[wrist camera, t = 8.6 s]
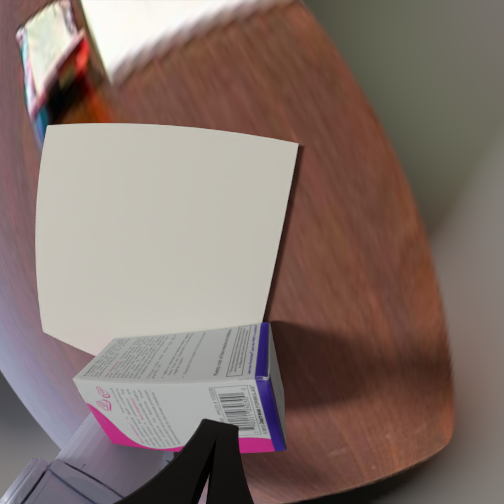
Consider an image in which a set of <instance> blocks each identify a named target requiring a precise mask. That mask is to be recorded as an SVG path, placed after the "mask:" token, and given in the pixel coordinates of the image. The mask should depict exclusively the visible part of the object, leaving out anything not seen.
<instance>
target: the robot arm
mask: <svg viewBox="0 0 504 504" xmlns="http://www.w3.org/2000/svg"><path fill="white" fill-rule="evenodd" d="M163 467H164V468H163ZM162 468H163V469H162ZM209 473H210V476H209ZM208 476H209V484H208V492H207V500H206V504H254V502H253V500H252V497H251V494H250V491H249V488H248V485H247V482H246V478H245V474H244V470H243V466H242V461H241V456H240V448H239V427H238V426H237V425H233V424H228V423H223V422H219V421H214V420H210V419H206V418H205V419H202V420H201V422H200V424H199V426H198V428H197V429H196V431H195V432H194V434H193V435H192V437H191V438H190V439H189V441H188V442H187V443H186V444H185V446H184V447H183V448H182V449H181V450H180V452H179V453H178V454H177V455H176V456H175V457H174V452H172V451H162V450H153V449H145V448H138V447H131V446H125V445H119V444H114V443H112V442H111V440H110V439H109V437H108V436H107V435H106V433H105V432H104V430H103V429H102V427H101V426H100V424H99V423H98V421H97V420H96V418H95V417H94V415H93V413H92V412H91V413H90V414H89V415H88V416H87V418H86V419H85V420H84V422H83V423H82V424H81V425H80V427H79V428H78V429H77V431H76V432H75V433H74V435H73V436H72V437H71V438H70V440H69V441H68V442H67V444H66V445H65V446H64V448H63V449H62V450H61V452H60V453H59V454H58V456H57V457H56V458H55V460H53V461H52V462H51V463H50V464H48V462H47V461H46V460H44V459H43V458H40V459H38V458H33V459H32V460H31V461H30V462H29V463H28V465H27V466H26V467H25V468H24V470H23V471H22V472H21V474H20V475H19V476H18V478H17V479H16V480H15V481H14V482H13V484H12V485H11V486H10V488H9V489H8V490H7V492H6V493H5V494H4V496H3V497H2V498H1V499H0V504H198V502H199V500H200V497H201V494H202V492H203V489H204V486H205V484H206V481H207V478H208Z"/></svg>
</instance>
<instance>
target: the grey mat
mask: <svg viewBox="0 0 504 504" xmlns="http://www.w3.org/2000/svg"><path fill="white" fill-rule="evenodd" d="M297 150H298V144H297V143H292V142H287V141H282V140H277V139H272V138H266V137H260V136H254V135H248V134H241V133H234V132H227V131H219V130H211V129H202V128H192V127H181V126H168V125H151V124H123V123H92V124H64V125H49V126H47V130H46V135H45V140H44V146H43V152H42V158H41V166H40V173H39V182H38V193H37V207H36V273H37V287H38V297H39V306H40V314H41V321H42V328H43V332H45V333H47V334H49V335H51V336H53V337H55V338H57V339H59V340H61V341H63V342H65V343H67V344H70V345H72V346H74V347H76V348H78V349H81V350H83V351H85V352H88V353H90V354H92V355H95V356H97V355H98V354H99V353H100V352H101V351H102V350H103V349H104V348H105V347H106V346H107V345H108V344H109V342H111V341H112V339H114V338H129V337H143V336H156V335H168V334H179V333H188V332H198V331H207V330H215V329H223V328H230V327H237V326H243V325H250V324H258V323H262V320H263V316H264V312H265V307H266V303H267V298H268V293H269V289H270V284H271V280H272V275H273V270H274V266H275V261H276V256H277V251H278V247H279V242H280V237H281V232H282V227H283V222H284V217H285V212H286V207H287V202H288V197H289V192H290V187H291V182H292V176H293V171H294V166H295V161H296V155H297Z"/></svg>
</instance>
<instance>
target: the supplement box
mask: <svg viewBox="0 0 504 504" xmlns="http://www.w3.org/2000/svg"><path fill="white" fill-rule="evenodd" d="M73 381H74V383H75V384H76V386H77V388H78V390H79V392H80V393H81V395H82V397H83V399H84V400H85V402H86V404H87V405H88V407H89V409H90V410H91V412H92V413H93V415H94V417H95V418H96V420H97V421H98V423H99V424H100V426H101V427H102V429H103V430H104V432H105V433H106V435H107V436H108V437H109V439H110V440H111V442H112V443H114V444H119V445H125V446H131V447H138V448H145V449H153V450H162V451H172V452H180V450H181V449H182V448H183V447H184V446H185V444H186V443H187V442H188V441H189V439H190V438H191V437H192V435H193V434H194V432H195V431H196V429H197V428H198V426H199V424H200V422H201V420H202V419H205V418H206V419H210V420H214V421H219V422H223V423H228V424H233V425H237V426H238V427H239V448H240V453H258V452H273V451H285V450H286V427H285V401H284V388H283V384H282V380H281V375H280V370H279V366H278V361H277V356H276V351H275V346H274V341H273V335H272V330H271V324H270V322H263V323H258V324H250V325H243V326H237V327H230V328H223V329H215V330H207V331H198V332H188V333H179V334H168V335H156V336H143V337H129V338H114V339H112V341H111V342H109V344H108V345H107V346H106V347H105V348H104V349H103V350H102V351H101V352H100V353H99V354H98V355H97V356H96V357H95V358H94V359H93V360H92V361H91V362H90V363H89V364H88V365H87V366H86V367H85V368H84V369H83V370H82V371H80V372H79V373H78V374H77V375H76V376H75V377H74V378H73Z"/></svg>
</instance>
